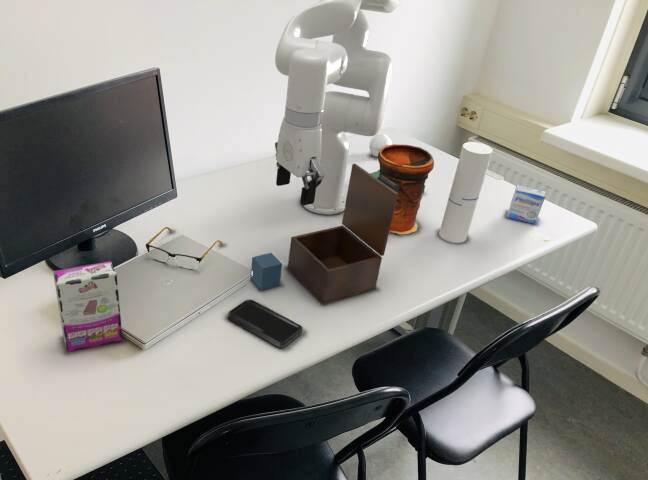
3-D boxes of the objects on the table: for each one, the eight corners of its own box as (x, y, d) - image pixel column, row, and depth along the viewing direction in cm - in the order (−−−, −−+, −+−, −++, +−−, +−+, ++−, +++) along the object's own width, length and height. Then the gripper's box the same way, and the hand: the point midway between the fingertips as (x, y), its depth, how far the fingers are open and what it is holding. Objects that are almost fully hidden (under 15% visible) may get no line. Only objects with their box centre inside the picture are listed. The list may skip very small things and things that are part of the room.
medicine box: (506, 218, 185) (515, 190, 180) (507, 211, 188) (516, 184, 183) (535, 224, 183) (545, 197, 178) (536, 217, 186) (546, 190, 181)
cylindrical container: (466, 244, 171) (494, 155, 157) (439, 240, 172) (463, 151, 157) (465, 231, 177) (491, 144, 162) (438, 227, 178) (462, 140, 163)
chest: (323, 304, 146) (328, 271, 141) (287, 268, 157) (291, 237, 151) (375, 289, 152) (382, 257, 147) (337, 255, 163) (342, 225, 157)
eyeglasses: (144, 259, 156) (143, 245, 153) (171, 231, 167) (171, 217, 164) (198, 274, 152) (199, 259, 150) (222, 244, 163) (223, 231, 161)
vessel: (360, 228, 175) (373, 158, 163) (372, 205, 186) (385, 138, 174) (413, 241, 171) (430, 171, 159) (423, 217, 182) (439, 150, 170)
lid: (395, 193, 137) (415, 189, 140) (352, 163, 148) (372, 160, 150) (381, 256, 146) (400, 251, 149) (341, 223, 157) (360, 219, 159)
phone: (249, 298, 144) (304, 327, 137) (248, 302, 144) (304, 331, 137) (225, 313, 139) (282, 345, 132) (225, 318, 139) (281, 349, 132)
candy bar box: (117, 326, 135) (112, 259, 125) (123, 341, 131) (118, 273, 122) (61, 337, 131) (52, 269, 121) (66, 353, 127) (56, 284, 118)
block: (250, 278, 152) (252, 257, 149) (269, 274, 154) (271, 252, 151) (260, 290, 149) (262, 268, 145) (279, 285, 151) (282, 263, 147)
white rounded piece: (362, 155, 214) (366, 133, 209) (376, 149, 218) (380, 128, 214) (387, 165, 208) (391, 144, 204) (401, 160, 213) (405, 138, 208)
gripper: (265, 103, 134) (259, 180, 144) (311, 134, 122) (301, 215, 132) (296, 99, 137) (288, 175, 147) (344, 129, 125) (332, 208, 135)
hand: (294, 194), depth 139 cm, fingers open, 9 cm apart
